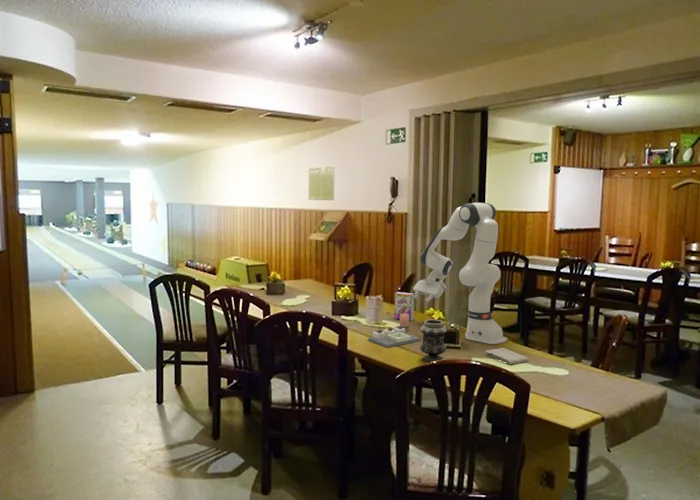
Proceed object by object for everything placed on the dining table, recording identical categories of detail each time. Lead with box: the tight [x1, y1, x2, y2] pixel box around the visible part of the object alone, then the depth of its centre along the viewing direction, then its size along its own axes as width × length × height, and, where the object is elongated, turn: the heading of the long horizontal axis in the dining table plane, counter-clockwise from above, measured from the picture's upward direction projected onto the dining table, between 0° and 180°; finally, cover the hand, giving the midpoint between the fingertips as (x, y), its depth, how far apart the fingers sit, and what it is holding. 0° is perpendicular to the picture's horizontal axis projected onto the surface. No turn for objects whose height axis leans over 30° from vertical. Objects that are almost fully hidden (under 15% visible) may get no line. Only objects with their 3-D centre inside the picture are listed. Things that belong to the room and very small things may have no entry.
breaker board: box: [367, 325, 421, 349], centre depth 262 cm, size 16×22×6 cm
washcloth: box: [484, 347, 529, 365], centre depth 233 cm, size 12×18×3 cm, turn 26°
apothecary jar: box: [419, 318, 448, 363], centre depth 231 cm, size 12×12×18 cm
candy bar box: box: [394, 291, 415, 322], centre depth 307 cm, size 11×5×16 cm, turn 58°
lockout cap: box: [399, 313, 410, 332], centre depth 283 cm, size 5×5×9 cm
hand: (420, 299), depth 289 cm, fingers open, 8 cm apart
